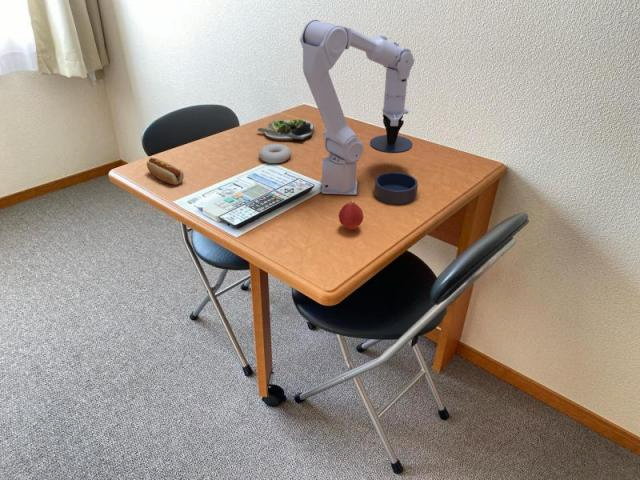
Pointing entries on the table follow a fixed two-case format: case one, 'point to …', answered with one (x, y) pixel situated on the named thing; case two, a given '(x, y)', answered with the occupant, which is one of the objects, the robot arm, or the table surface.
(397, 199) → the pot
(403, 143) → the lid
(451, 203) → the table surface
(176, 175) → the food
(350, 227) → the onion
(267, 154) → the donut
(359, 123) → the table surface
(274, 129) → the salad plate
